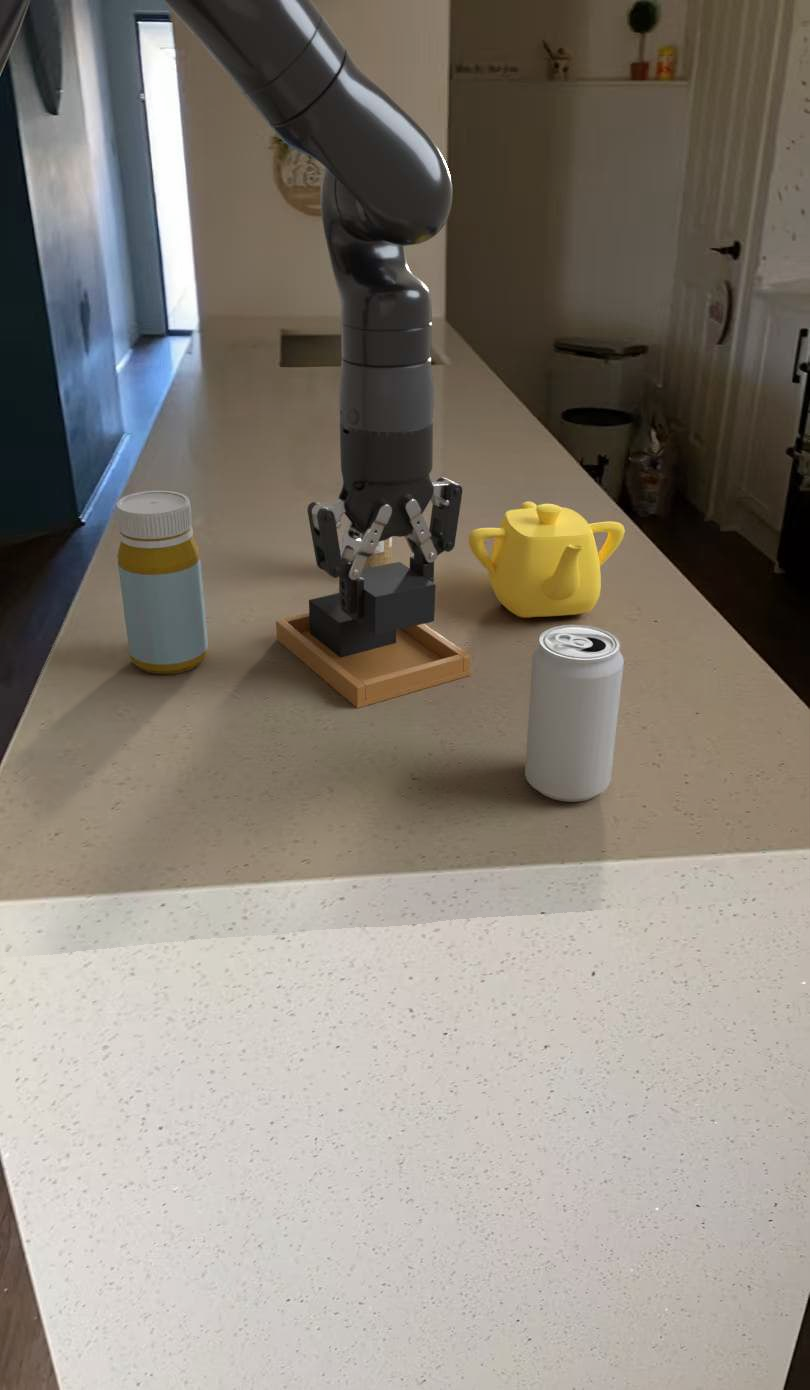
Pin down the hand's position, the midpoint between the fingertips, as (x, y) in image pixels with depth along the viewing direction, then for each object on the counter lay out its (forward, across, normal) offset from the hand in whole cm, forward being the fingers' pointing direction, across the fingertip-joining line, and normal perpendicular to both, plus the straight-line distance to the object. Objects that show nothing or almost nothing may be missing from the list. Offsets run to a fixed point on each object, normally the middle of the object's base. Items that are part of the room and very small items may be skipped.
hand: (387, 606), depth 95 cm
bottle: (+6, +16, -12) cm, 21 cm away
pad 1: (+6, 0, -6) cm, 8 cm away
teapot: (+6, -21, -4) cm, 22 cm away
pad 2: (+1, 0, 0) cm, 1 cm away
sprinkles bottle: (+6, -10, -20) cm, 23 cm away
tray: (+6, 0, -3) cm, 7 cm away
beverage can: (+6, -2, +23) cm, 24 cm away
